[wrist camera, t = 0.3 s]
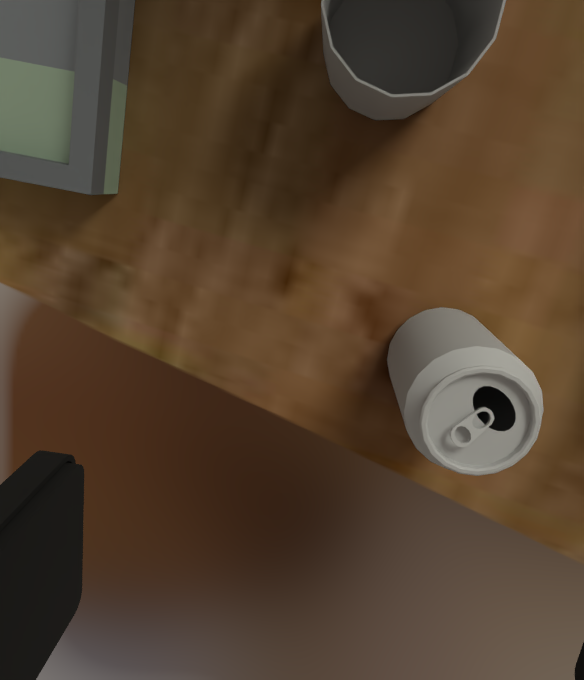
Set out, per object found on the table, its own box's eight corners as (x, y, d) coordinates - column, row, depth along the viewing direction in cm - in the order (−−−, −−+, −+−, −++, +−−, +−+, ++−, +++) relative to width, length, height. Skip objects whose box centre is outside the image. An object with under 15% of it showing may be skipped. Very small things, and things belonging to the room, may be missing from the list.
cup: (302, 86, 36) (293, 51, 26) (357, -49, 33) (369, -143, 24) (420, 141, 36) (453, 126, 26) (482, 11, 34) (542, -58, 24)
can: (510, 364, 40) (584, 438, 28) (424, 421, 41) (460, 512, 30) (451, 283, 38) (503, 326, 27) (365, 345, 40) (379, 411, 29)
